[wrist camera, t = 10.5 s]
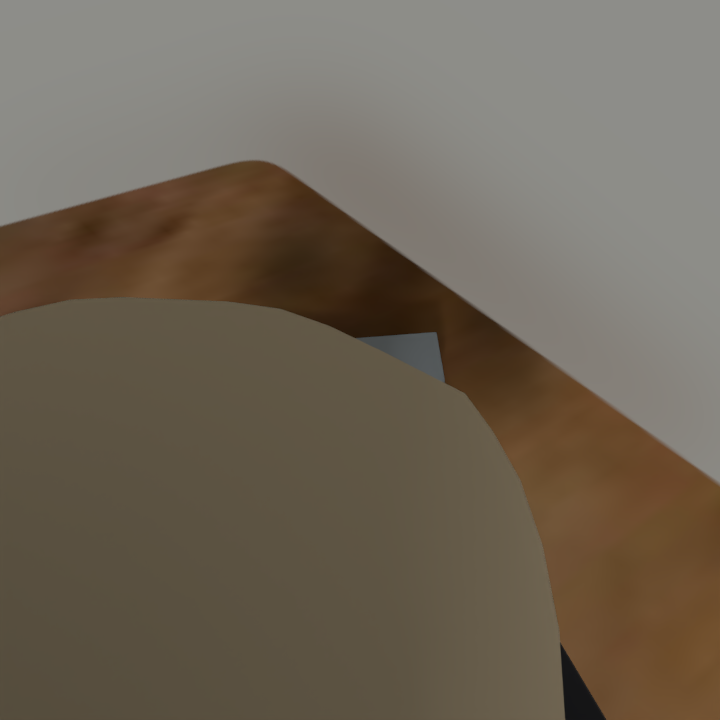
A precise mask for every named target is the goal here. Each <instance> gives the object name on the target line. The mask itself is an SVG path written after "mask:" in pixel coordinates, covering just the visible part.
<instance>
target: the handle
mask: <svg viewBox="0 0 720 720" xmlns="http://www.w3.org/2000/svg"><path fill="white" fill-rule="evenodd" d="M0 720H565V710H564V695H563V680H562V665H561V650H560V635H559V627H558V622H557V616H556V611H555V606H554V601H553V596H552V591H551V586H550V581H549V576H548V570H547V565H546V560H545V555H544V550H543V545H542V543H541V540H540V537H539V534H538V531H537V528H536V525H535V522H534V519H533V516H532V513H531V510H530V507H529V504H528V501H527V499H526V496H525V493H524V490H523V487H522V484H521V481H520V479H519V477H518V475H517V473H516V471H515V470H514V468H513V466H512V464H511V463H510V461H509V459H508V457H507V456H506V454H505V452H504V450H503V448H502V447H501V445H500V443H499V441H498V440H497V438H496V436H495V434H494V432H493V431H492V430H491V428H490V427H489V425H488V424H487V423H486V421H485V420H484V419H483V417H482V416H481V414H480V413H479V412H478V410H477V409H476V408H475V406H474V405H473V404H472V402H471V401H470V399H469V398H468V397H467V395H466V394H465V393H463V392H461V391H459V390H457V389H455V388H453V387H451V386H449V385H448V384H446V383H444V382H442V381H440V380H438V379H436V378H434V377H432V376H430V375H428V374H426V373H424V372H422V371H420V370H418V369H416V368H414V367H412V366H410V365H408V364H406V363H404V362H403V361H401V360H399V359H397V358H395V357H393V356H391V355H389V354H387V353H385V352H383V351H381V350H379V349H376V348H374V347H372V346H370V345H368V344H366V343H364V342H362V341H360V340H358V339H356V338H353V337H351V336H349V335H347V334H345V333H343V332H341V331H339V330H337V329H335V328H333V327H330V326H328V325H325V324H323V323H320V322H317V321H314V320H311V319H308V318H305V317H302V316H300V315H297V314H294V313H291V312H288V311H285V310H282V309H279V308H271V307H264V306H257V305H249V304H242V303H235V302H224V301H201V300H177V299H154V298H130V297H117V298H97V299H76V300H67V301H63V302H58V303H54V304H49V305H45V306H40V307H35V308H31V309H26V310H22V311H17V312H14V313H10V314H7V315H4V316H1V317H0Z"/></svg>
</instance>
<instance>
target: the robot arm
mask: <svg viewBox="0 0 720 720" xmlns="http://www.w3.org/2000/svg"><path fill="white" fill-rule="evenodd" d="M560 650H561V665H562V680H563V695H564V710H565V720H606V718H605V717H604V715H603V713H602V712H601V710H600V708H599V707H598V705H597V703H596V702H595V700H594V698H593V697H592V695H591V693H590V692H589V690H588V688H587V687H586V685H585V683H584V681H583V680H582V678H581V676H580V675H579V673H578V671H577V670H576V668H575V666H574V665H573V663H572V661H571V660H570V658H569V656H568V655H567V653H566V651H565V650H564V648H563V646H562V645H561V643H560Z"/></svg>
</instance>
